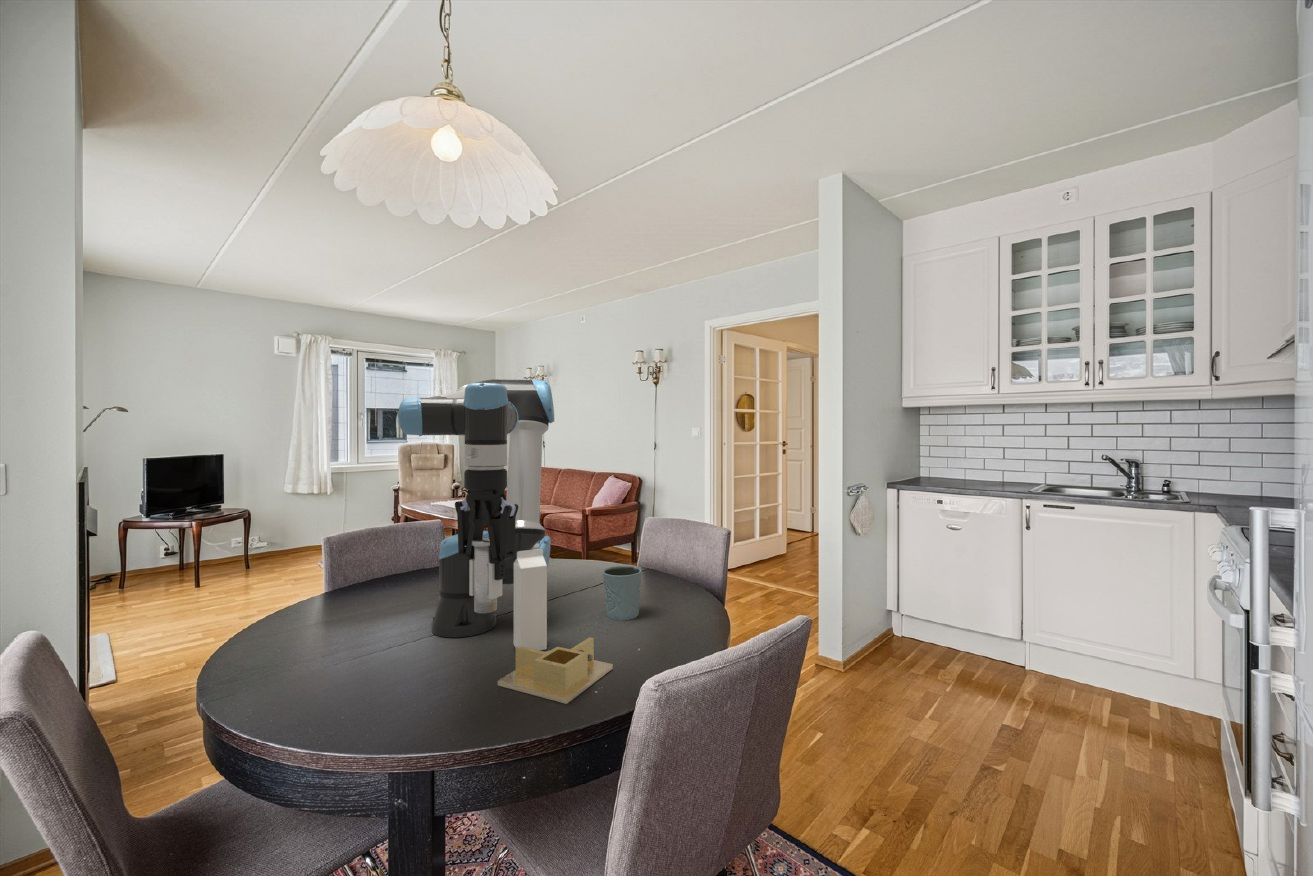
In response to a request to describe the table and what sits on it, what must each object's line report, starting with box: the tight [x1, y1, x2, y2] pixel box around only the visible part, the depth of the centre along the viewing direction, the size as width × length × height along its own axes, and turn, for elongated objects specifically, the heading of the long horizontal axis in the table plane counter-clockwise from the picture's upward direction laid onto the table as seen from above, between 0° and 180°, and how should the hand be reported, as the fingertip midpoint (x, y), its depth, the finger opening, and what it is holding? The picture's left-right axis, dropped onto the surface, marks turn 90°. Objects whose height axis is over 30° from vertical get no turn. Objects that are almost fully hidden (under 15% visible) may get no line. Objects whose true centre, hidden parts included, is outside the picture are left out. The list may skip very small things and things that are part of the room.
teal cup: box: [602, 565, 642, 621], centre depth 143 cm, size 10×10×12 cm
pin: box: [472, 538, 498, 613], centre depth 99 cm, size 5×5×13 cm
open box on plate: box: [497, 637, 613, 705], centre depth 107 cm, size 16×16×6 cm
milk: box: [513, 549, 548, 651], centre depth 121 cm, size 6×6×22 cm
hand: (485, 595), depth 99 cm, fingers closed on pin, 4 cm apart
